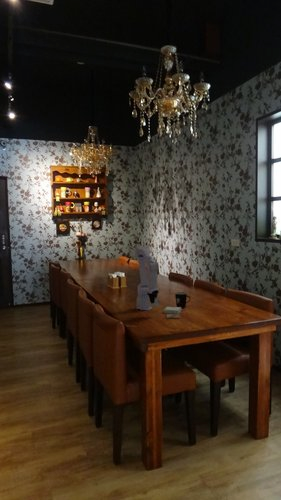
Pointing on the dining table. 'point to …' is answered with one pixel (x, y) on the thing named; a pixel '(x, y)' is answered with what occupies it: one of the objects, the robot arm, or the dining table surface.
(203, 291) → the dining table surface
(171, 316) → the plate
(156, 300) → the block
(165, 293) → the dining table surface
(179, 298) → the coffee mug
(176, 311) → the grey green square tray
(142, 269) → the robot arm
